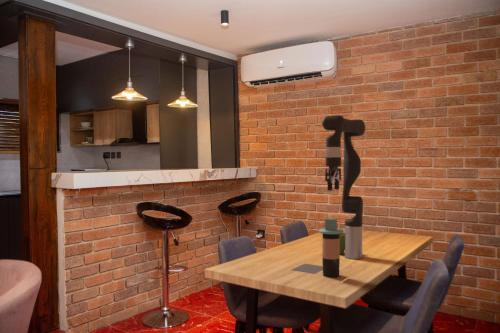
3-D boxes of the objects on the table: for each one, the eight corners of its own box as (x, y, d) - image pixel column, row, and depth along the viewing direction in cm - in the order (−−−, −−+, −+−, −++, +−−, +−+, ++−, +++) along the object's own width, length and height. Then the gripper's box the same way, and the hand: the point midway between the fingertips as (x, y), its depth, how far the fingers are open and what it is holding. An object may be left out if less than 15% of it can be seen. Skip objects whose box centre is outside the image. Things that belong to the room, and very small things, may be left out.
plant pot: (348, 256, 225) (348, 235, 225) (327, 255, 228) (327, 234, 228) (348, 251, 237) (348, 232, 237) (327, 250, 239) (327, 231, 239)
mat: (304, 264, 206) (304, 263, 206) (327, 268, 199) (327, 266, 199) (290, 271, 193) (290, 269, 193) (314, 275, 186) (314, 273, 186)
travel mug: (337, 274, 188) (337, 230, 188) (341, 279, 180) (341, 233, 180) (320, 274, 187) (320, 231, 187) (324, 279, 180) (324, 233, 180)
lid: (324, 229, 191) (324, 216, 191) (347, 231, 185) (347, 218, 185) (314, 232, 182) (314, 219, 182) (337, 235, 176) (337, 221, 176)
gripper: (331, 156, 207) (331, 189, 207) (320, 156, 195) (320, 190, 195) (346, 156, 203) (346, 189, 203) (335, 156, 191) (335, 191, 191)
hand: (333, 189), depth 199 cm, fingers open, 8 cm apart
